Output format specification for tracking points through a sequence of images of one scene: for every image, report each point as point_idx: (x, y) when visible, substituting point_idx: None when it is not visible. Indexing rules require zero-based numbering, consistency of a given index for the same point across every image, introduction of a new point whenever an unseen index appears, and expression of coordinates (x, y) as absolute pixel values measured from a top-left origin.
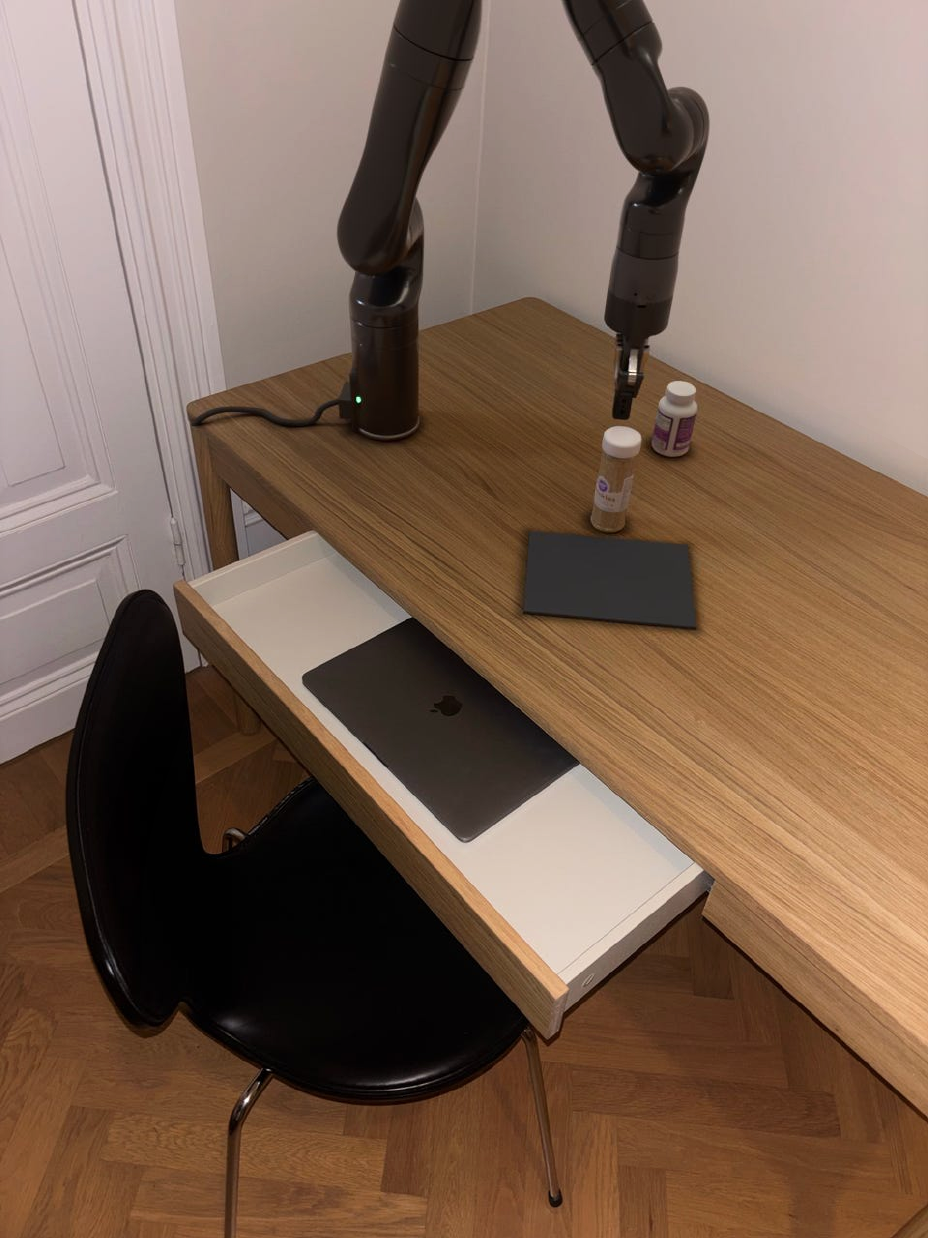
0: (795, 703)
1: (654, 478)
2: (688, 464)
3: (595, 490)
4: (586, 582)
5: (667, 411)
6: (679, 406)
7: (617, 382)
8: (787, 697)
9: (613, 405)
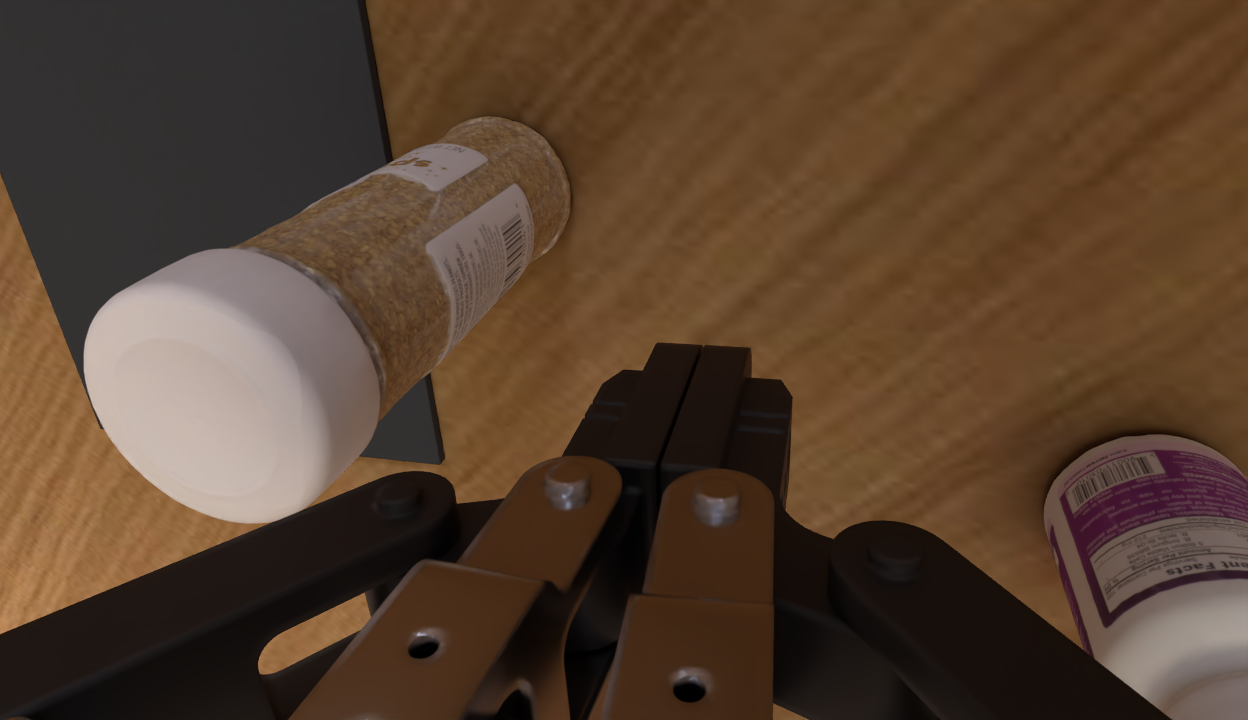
0: (7, 578)
1: (866, 408)
2: (987, 552)
3: (424, 156)
4: (121, 104)
5: (1150, 624)
6: (1158, 703)
7: (466, 551)
8: (14, 568)
9: (669, 383)
